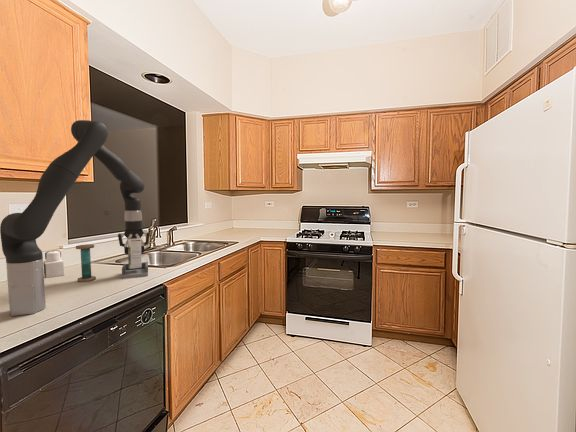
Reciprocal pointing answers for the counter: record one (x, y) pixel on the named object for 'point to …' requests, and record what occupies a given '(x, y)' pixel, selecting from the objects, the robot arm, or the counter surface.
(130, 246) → the syrup box
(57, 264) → the medicine bottle
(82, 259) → the bobbin post
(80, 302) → the counter surface
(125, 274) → the gray square tray
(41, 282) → the robot arm
